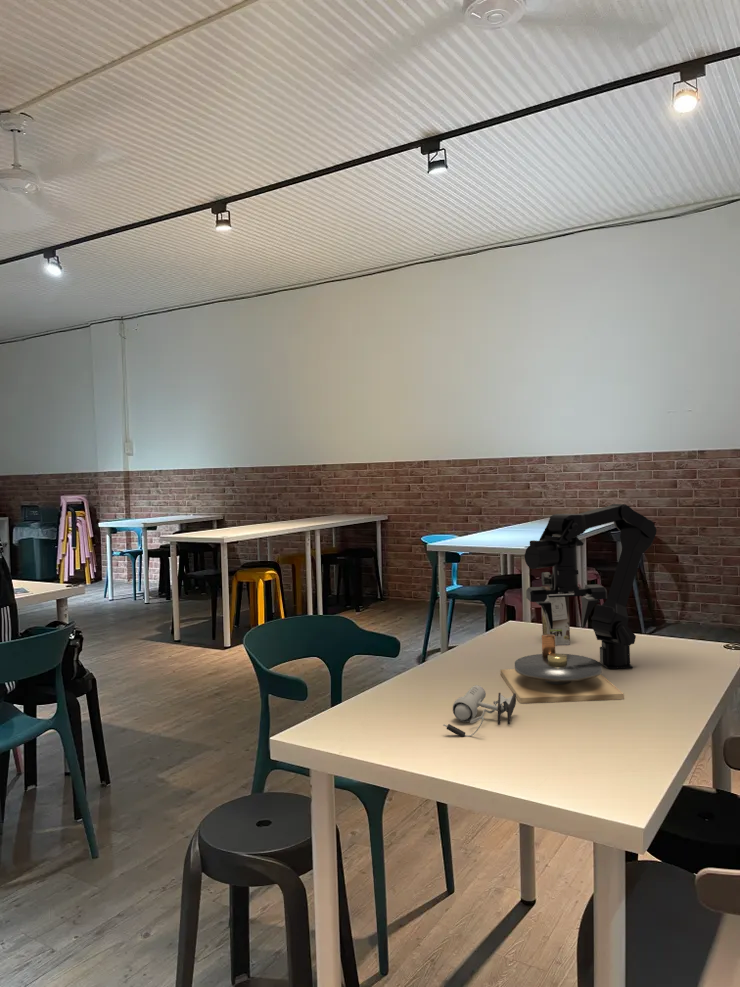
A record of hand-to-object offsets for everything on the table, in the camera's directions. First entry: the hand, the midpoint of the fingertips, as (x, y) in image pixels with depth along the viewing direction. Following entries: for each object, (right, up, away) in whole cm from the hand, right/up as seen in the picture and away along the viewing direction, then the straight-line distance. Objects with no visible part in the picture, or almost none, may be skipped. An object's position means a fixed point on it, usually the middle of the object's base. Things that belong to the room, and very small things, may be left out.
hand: (567, 627), depth 181 cm
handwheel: (-4, -8, -8) cm, 12 cm away
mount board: (-4, -12, -8) cm, 15 cm away
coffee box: (+6, -11, +35) cm, 37 cm away
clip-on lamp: (-26, -14, -31) cm, 43 cm away
